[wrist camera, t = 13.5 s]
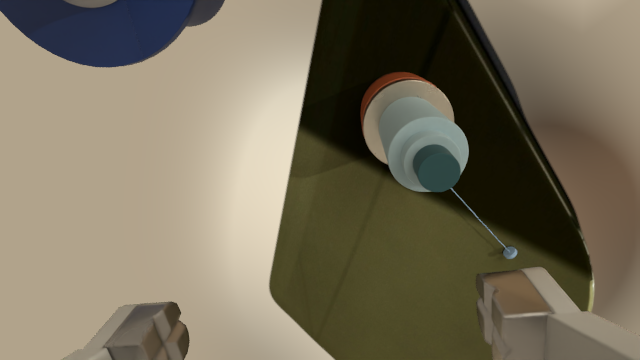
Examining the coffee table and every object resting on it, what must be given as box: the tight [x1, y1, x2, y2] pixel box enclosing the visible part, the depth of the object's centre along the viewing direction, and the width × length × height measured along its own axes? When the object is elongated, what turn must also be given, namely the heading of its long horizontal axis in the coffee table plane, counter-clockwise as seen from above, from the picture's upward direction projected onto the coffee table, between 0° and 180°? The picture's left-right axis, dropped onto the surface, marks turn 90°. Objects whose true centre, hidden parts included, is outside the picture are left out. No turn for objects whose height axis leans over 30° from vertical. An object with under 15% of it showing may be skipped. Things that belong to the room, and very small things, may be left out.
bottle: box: [379, 97, 469, 192], centre depth 28 cm, size 6×6×12 cm
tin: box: [360, 72, 454, 164], centre depth 38 cm, size 9×9×9 cm
